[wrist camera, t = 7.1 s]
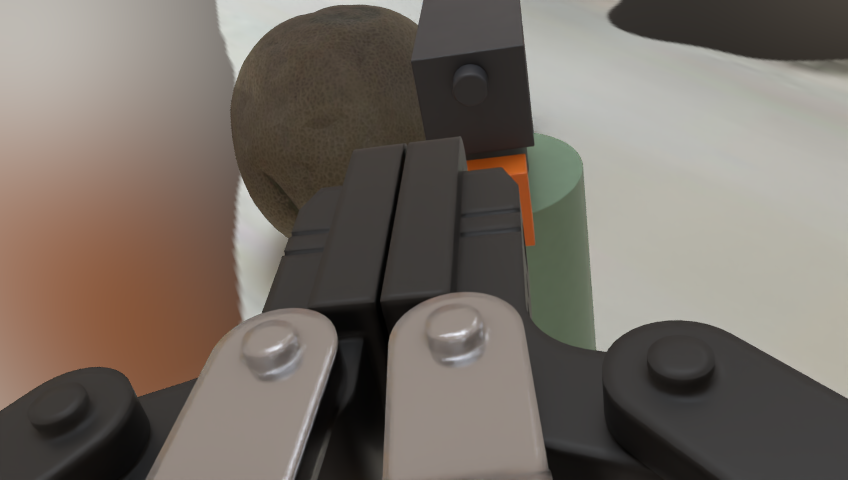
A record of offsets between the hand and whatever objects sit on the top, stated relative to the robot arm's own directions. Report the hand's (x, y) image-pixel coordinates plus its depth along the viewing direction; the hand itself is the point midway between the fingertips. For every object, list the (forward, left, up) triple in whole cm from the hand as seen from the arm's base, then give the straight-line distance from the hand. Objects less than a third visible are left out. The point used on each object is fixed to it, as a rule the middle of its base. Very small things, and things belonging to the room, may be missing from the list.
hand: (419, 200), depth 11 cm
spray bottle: (+15, -5, -23) cm, 28 cm away
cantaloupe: (+35, -2, -23) cm, 42 cm away
